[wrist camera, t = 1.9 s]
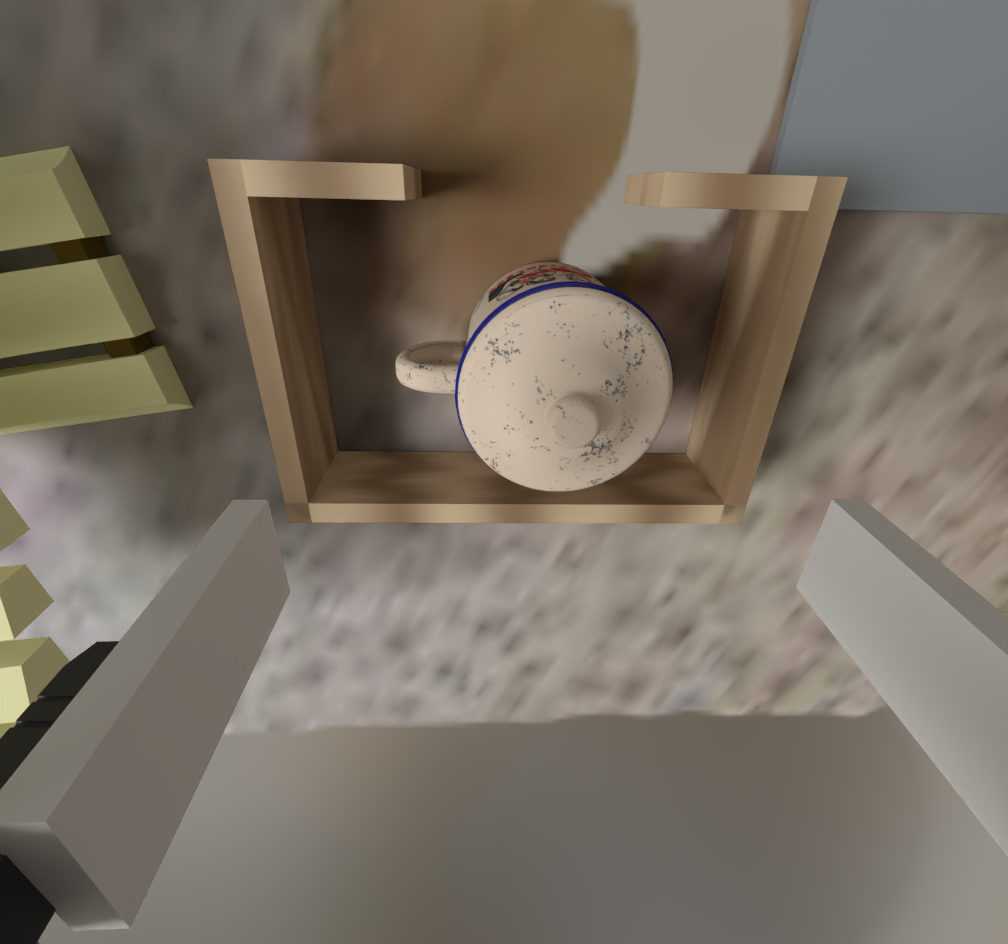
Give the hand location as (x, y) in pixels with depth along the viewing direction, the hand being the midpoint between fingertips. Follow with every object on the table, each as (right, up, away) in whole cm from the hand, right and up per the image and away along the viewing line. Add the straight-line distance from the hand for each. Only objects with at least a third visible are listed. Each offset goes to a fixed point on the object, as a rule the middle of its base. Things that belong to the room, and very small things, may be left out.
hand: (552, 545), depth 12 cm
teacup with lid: (0, +9, +16) cm, 19 cm away
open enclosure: (0, +9, +16) cm, 19 cm away
